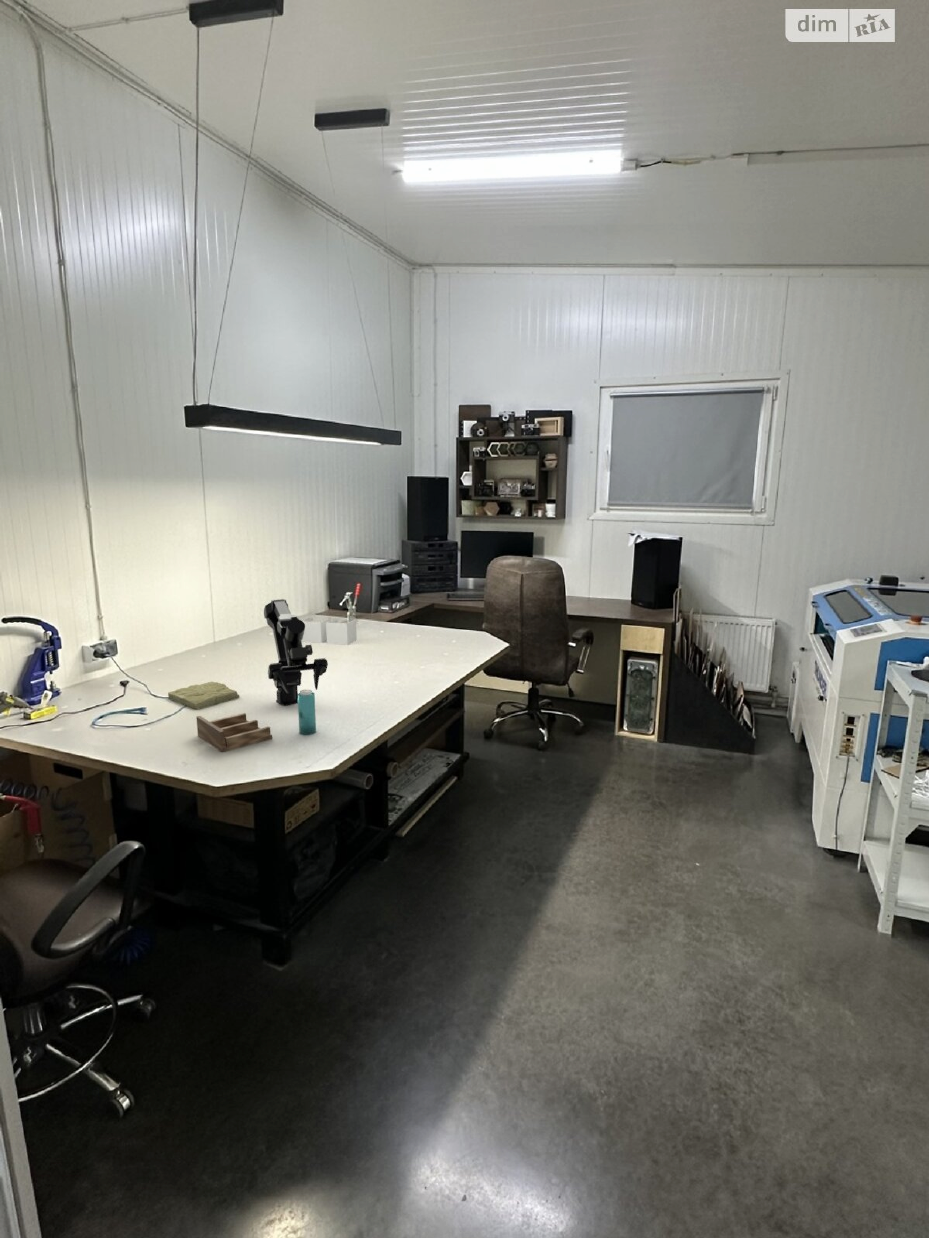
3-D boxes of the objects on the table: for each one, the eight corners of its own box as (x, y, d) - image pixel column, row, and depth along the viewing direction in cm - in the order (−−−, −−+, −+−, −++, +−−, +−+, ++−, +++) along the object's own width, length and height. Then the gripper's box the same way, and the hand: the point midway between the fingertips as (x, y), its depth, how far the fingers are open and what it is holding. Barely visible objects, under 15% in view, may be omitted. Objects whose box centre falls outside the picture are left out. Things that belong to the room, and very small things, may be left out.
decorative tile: (196, 711, 234) (195, 701, 234) (167, 699, 247) (166, 690, 246) (244, 698, 249) (243, 689, 248) (214, 688, 261) (214, 679, 260)
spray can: (310, 727, 217) (309, 687, 214) (319, 732, 213) (317, 691, 211) (296, 731, 214) (294, 691, 211) (304, 736, 210) (302, 694, 207)
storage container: (301, 642, 335) (300, 621, 333) (311, 637, 346) (310, 616, 344) (347, 645, 329) (346, 623, 327) (356, 640, 340) (356, 619, 337)
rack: (246, 723, 221) (245, 705, 220) (272, 738, 208) (271, 719, 207) (197, 735, 210) (196, 716, 209) (221, 752, 197) (220, 732, 196)
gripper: (267, 639, 214) (274, 681, 206) (325, 634, 222) (334, 674, 214) (264, 657, 223) (271, 699, 215) (321, 652, 230) (329, 692, 222)
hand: (302, 690), depth 216 cm, fingers open, 9 cm apart
